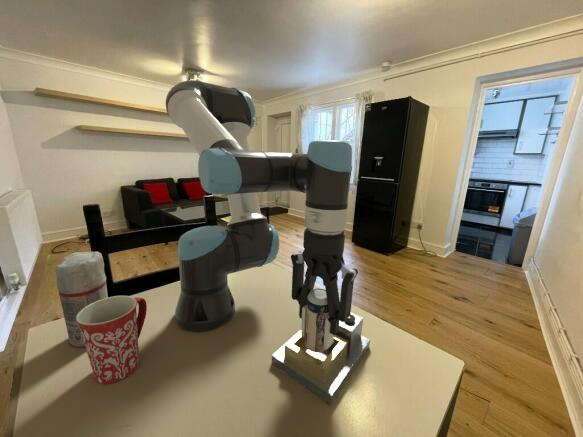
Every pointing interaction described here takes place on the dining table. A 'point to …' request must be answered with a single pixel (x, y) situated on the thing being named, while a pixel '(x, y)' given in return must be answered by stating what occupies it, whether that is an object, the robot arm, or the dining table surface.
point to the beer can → (316, 320)
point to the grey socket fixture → (324, 359)
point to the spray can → (80, 288)
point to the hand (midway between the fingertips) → (316, 338)
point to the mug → (112, 336)
